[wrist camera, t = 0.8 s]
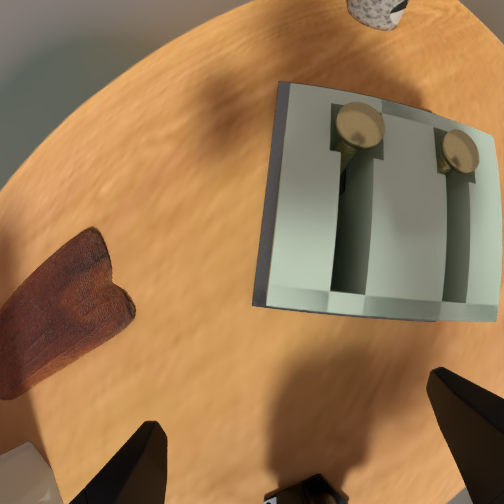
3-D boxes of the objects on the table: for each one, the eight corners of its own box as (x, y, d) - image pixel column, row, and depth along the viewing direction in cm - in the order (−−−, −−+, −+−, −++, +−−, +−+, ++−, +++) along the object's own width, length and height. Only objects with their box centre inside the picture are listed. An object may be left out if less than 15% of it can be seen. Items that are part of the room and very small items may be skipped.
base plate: (431, 321, 23) (512, 340, 12) (252, 305, 24) (240, 326, 13) (433, 117, 25) (487, 59, 14) (278, 85, 26) (282, 0, 15)
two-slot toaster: (429, 310, 22) (496, 322, 13) (266, 294, 23) (265, 305, 14) (435, 174, 23) (492, 136, 14) (283, 146, 24) (290, 83, 15)
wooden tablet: (97, 222, 26) (88, 219, 24) (146, 318, 25) (138, 320, 23) (-28, 337, 26) (-36, 338, 24) (3, 406, 25) (-5, 410, 23)
